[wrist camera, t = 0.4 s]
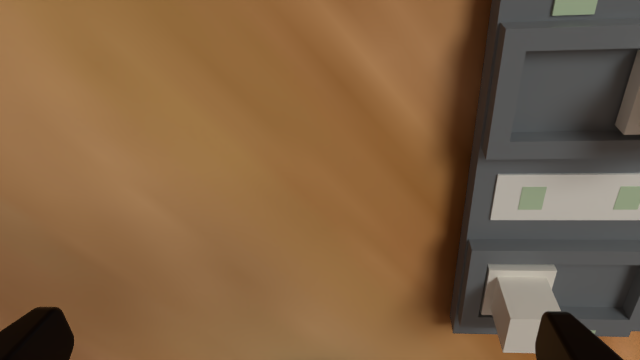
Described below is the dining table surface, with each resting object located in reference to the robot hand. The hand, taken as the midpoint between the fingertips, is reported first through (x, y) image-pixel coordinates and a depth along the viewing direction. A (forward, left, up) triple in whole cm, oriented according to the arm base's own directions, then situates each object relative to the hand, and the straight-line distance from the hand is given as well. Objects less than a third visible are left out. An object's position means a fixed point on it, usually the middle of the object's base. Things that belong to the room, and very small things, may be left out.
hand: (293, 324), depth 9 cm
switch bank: (-6, -11, -13) cm, 18 cm away
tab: (-11, -9, -12) cm, 18 cm away
